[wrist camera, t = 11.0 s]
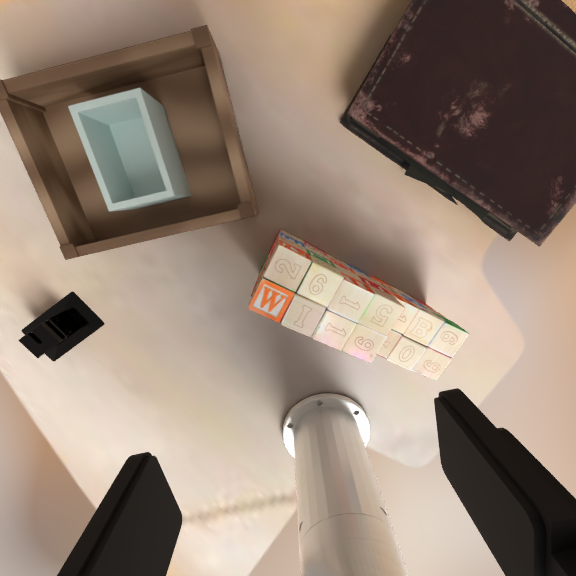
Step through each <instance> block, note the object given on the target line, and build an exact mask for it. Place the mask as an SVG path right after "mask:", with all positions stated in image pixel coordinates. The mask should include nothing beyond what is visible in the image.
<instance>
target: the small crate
mask: <svg viewBox="0 0 576 576" xmlns="http://www.w3.org/2000/svg"><path fill="white" fill-rule="evenodd" d="M68 108H69V110H70V113H71V115H72V118H73V121H74V123H75V126H76V128H77V131H78V133H79V136H80V138H81V141H82V144H83V146H84V149H85V151H86V154H87V156H88V159H89V162H90V164H91V167H92V169H93V172H94V174H95V177H96V180H97V182H98V185H99V187H100V190H101V192H102V195H103V198H104V200H105V203H106V205H107V208H108V210H109V211H121V210H133V209H139V208H144V207H148V206H152V205H156V204H160V203H165V202H169V201H173V200H177V199H181V198H186V197H190V196H192V195H191V192H190V189H189V186H188V182H187V179H186V176H185V172H184V169H183V166H182V163H181V159H180V156H179V153H178V150H177V146H176V143H175V140H174V136H173V133H172V130H171V127H170V123H169V120H168V117H167V114H166V110H165V107H164V106H163V105H162V104H160V103H159V102H158V101H157V100H155V99H154V98H153V97H151V96H150V95H149V94H148V93H146V92H145V91H144V90H142V89H141V88H137V89H133V90H129V91H125V92H121V93H117V94H113V95H109V96H106V97H102V98H98V99H94V100H90V101H86V102H82V103H78V104H74V105H70V106H68Z"/></svg>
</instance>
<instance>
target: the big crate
mask: <svg viewBox="0 0 576 576" xmlns="http://www.w3.org/2000/svg"><path fill="white" fill-rule="evenodd" d="M137 88H141V89H142V90H144V91H145V92H146V93H148V94H149V95H150V96H151V97H153V98H154V99H155V100H157V101H158V102H159V103H160V104H162V105H163V106H164V107H165V110H166V114H167V117H168V120H169V123H170V127H171V130H172V133H173V136H174V140H175V143H176V146H177V150H178V153H179V156H180V159H181V163H182V166H183V169H184V172H185V176H186V179H187V182H188V186H189V189H190V192H191V195H192V196H190V197H186V198H181V199H177V200H173V201H169V202H165V203H160V204H156V205H152V206H148V207H144V208H139V209H133V210H121V211H109V210H108V208H107V205H106V203H105V200H104V198H103V195H102V192H101V190H100V187H99V185H98V182H97V180H96V177H95V174H94V172H93V169H92V167H91V164H90V162H89V159H88V156H87V154H86V151H85V149H84V146H83V144H82V141H81V138H80V136H79V133H78V131H77V128H76V126H75V123H74V121H73V118H72V115H71V113H70V110H69V108H68V106H70V105H74V104H78V103H82V102H86V101H90V100H94V99H98V98H102V97H106V96H109V95H113V94H117V93H121V92H125V91H129V90H133V89H137ZM0 112H1V115H2V117H3V119H4V121H5V124H6V126H7V128H8V130H9V132H10V135H11V137H12V139H13V141H14V143H15V146H16V148H17V150H18V152H19V155H20V157H21V159H22V161H23V163H24V166H25V168H26V170H27V172H28V174H29V177H30V179H31V181H32V183H33V186H34V188H35V190H36V192H37V194H38V197H39V199H40V201H41V203H42V205H43V208H44V210H45V212H46V214H47V217H48V219H49V221H50V223H51V225H52V228H53V230H54V232H55V234H56V236H57V239H58V241H59V243H60V245H61V246H60V249H61V251H62V253H63V255H64V258H65V260H67V259H71V258H75V257H79V256H84V255H88V254H92V253H96V252H101V251H105V250H109V249H114V248H118V247H122V246H127V245H131V244H135V243H139V242H144V241H148V240H152V239H157V238H161V237H165V236H169V235H174V234H178V233H182V232H187V231H191V230H195V229H200V228H204V227H208V226H212V225H217V224H221V223H225V222H230V221H234V220H238V219H243V218H247V217H251V216H255V215H256V214H258V209H257V205H256V201H255V197H254V193H253V189H252V185H251V181H250V177H249V173H248V169H247V164H246V160H245V156H244V152H243V148H242V144H241V140H240V136H239V132H238V128H237V124H236V120H235V116H234V112H233V108H232V104H231V99H230V95H229V91H228V87H227V83H226V79H225V75H224V71H223V67H222V63H221V59H220V55H219V52H218V50H217V47H216V45H215V43H214V40H213V38H212V36H211V34H210V31H209V29H208V27H207V25H205V26H201V27H198V28H194V29H191V31H188V32H184V33H180V34H177V35H173V36H169V37H165V38H162V39H158V40H154V41H150V42H146V43H143V44H139V45H135V46H131V47H127V48H124V49H120V50H116V51H112V52H108V53H105V54H101V55H97V56H93V57H90V58H86V59H82V60H78V61H74V62H71V63H67V64H63V65H59V66H55V67H52V68H48V69H44V70H40V71H37V72H33V73H29V74H25V75H21V76H18V77H14V78H10V79H6V80H0Z"/></svg>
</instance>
